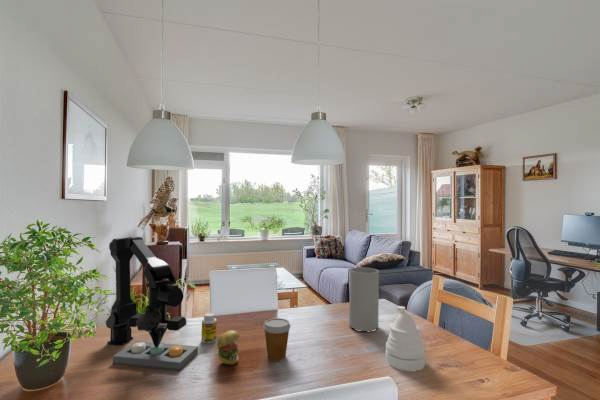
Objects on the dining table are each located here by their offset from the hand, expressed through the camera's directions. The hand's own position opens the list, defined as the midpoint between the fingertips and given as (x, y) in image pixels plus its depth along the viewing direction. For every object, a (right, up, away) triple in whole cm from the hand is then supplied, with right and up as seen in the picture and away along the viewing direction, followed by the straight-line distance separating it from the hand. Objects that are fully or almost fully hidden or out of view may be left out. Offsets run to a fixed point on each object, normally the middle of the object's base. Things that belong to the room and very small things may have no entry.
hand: (156, 346), depth 110 cm
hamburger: (+25, -5, -2) cm, 26 cm away
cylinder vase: (+77, -6, +31) cm, 83 cm away
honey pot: (+85, -5, 0) cm, 85 cm away
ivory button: (-7, -3, +1) cm, 8 cm away
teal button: (0, -3, 0) cm, 3 cm away
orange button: (+7, -3, -1) cm, 8 cm away
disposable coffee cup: (+41, -5, +2) cm, 41 cm away
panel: (0, -4, 0) cm, 4 cm away
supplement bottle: (+14, -5, +15) cm, 21 cm away
